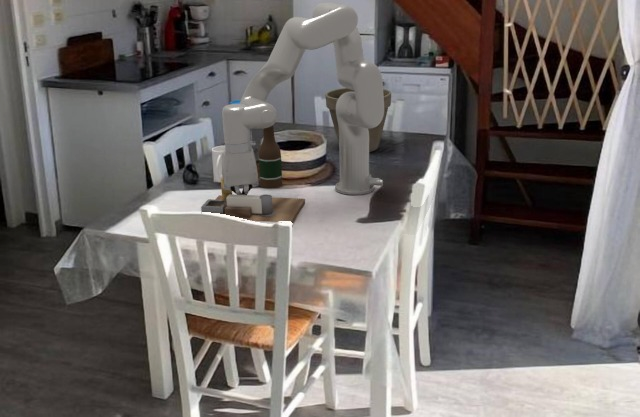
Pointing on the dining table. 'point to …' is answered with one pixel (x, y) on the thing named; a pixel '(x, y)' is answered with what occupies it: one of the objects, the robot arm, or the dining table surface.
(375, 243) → the dining table surface
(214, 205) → the collar
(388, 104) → the plant pot
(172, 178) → the dining table surface
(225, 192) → the pin
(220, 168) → the mug
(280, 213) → the board
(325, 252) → the dining table surface
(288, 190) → the dining table surface
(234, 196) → the handle
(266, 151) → the beer bottle
